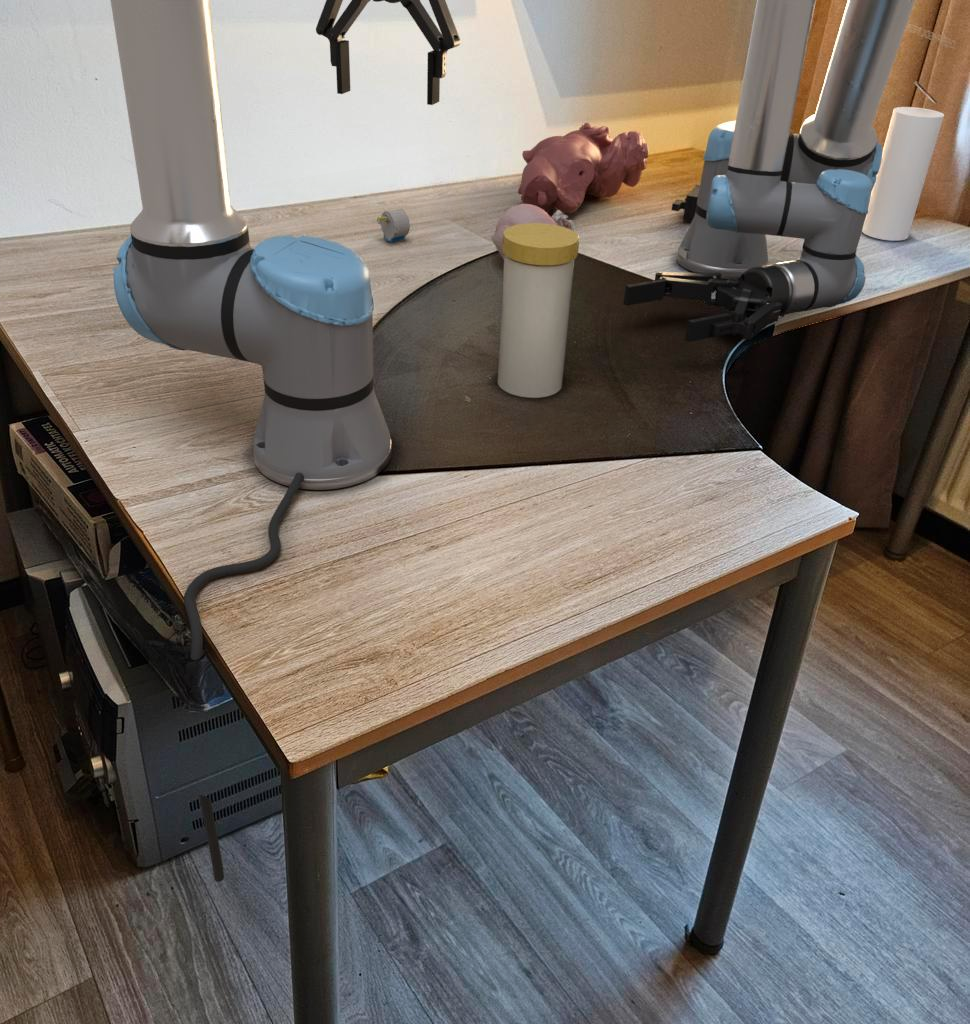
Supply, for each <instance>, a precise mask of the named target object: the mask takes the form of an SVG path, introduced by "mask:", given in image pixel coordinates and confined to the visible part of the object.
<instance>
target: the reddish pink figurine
mask: <svg viewBox="0 0 970 1024" xmlns="http://www.w3.org/2000/svg"><path fill="white" fill-rule="evenodd" d="M610 130H611V129H610V127H608V126H607V125H605V126H604V125H602V126H600V127H598V126H592V125H591V124H590V123H589V122H585V123H584V124H581V126H580V127H579V129H576V130H573V131H570V132H568V133H566V134H565V135H554V136H549V137H546V138H544V139H542V140H540V141H539V142H538V143H536V145H535V146H534V147H532V148H531V149H529V150H523V151H522V153H521V156H522V158H523V160H524V162H525V163H526V164H525V166H524V168H523V170H522V172H521V173H522V174H521V180H520V181H521V182H520V185H519V186H518V189H517V194H518V195H520V200H521V202H522V204H530V205H535V206H537V207H539V208H541V209H543V210H544V211H545V212H546V213H547V214H548V213H549V212H551V211H552V210H553V209H554V208H555V209H556V211H557V210H560V211H561V212H562V213H564V214H569V213H573V212H575V211H578V209H579V208H581V206H582V203H584V199H585V195H591V196H593V197H596V198H599V197H604V198H606V197H608V198H610V197H613V196H614V195H617V194H618V192H619V191H620V189H621V186H622V184H624V185H625V186H627V187H631V188H635V187H636V186H637V185H638V184H639V183H640V181H641V178H642V174H643V171H645V170H646V169H647V164H648V161H647V160H648V157H649V146H648V143H647V142H646V141H645V139H644V135H643V134H642V132H638V131H636V130H631V131H628V132H627V131H624V132H621V133H618V135H617V136H615V137H614V138H612V137H611V136H610V135H609V134H610Z"/></svg>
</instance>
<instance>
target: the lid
mask: <svg viewBox="0 0 970 1024" xmlns="http://www.w3.org/2000/svg"><path fill="white" fill-rule="evenodd" d="M579 241H580V236H579V234H578V233H577V232H576V231H575V232H574V231H572V230H570V229H568V228H565V227H562V226H558V225H552V224H544V223H526V224H518V225H514V226H511V227H509V228H507V229H505V231H504V233H503V239H502V250H503V253H504V255H506V256H507V257H508V258H510V259H512V260H515V261H518V262H522V263H526V264H532V265H559V264H565V263H568V262H571V261H573V260H574V259H575V260H576V259H577V257H578V255H579V250H580V249H579V248H580V242H579Z"/></svg>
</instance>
